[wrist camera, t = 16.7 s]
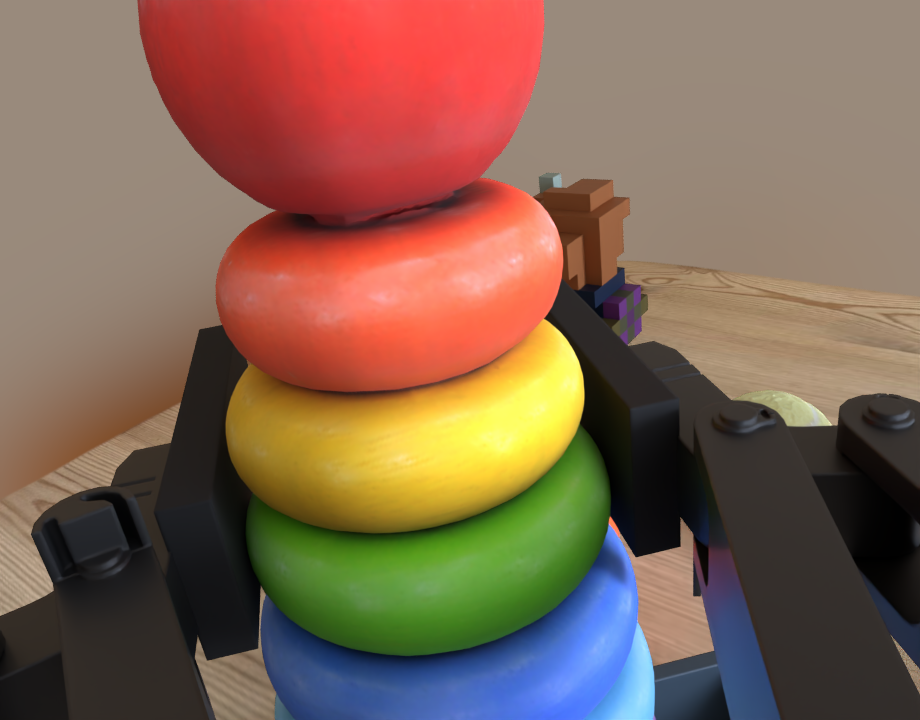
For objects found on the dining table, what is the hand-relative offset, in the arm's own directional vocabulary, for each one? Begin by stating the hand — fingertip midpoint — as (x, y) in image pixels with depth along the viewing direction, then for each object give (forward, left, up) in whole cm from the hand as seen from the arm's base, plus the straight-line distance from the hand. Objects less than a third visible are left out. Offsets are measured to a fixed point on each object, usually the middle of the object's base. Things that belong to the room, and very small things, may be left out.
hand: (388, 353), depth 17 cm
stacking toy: (0, -5, -10) cm, 11 cm away
